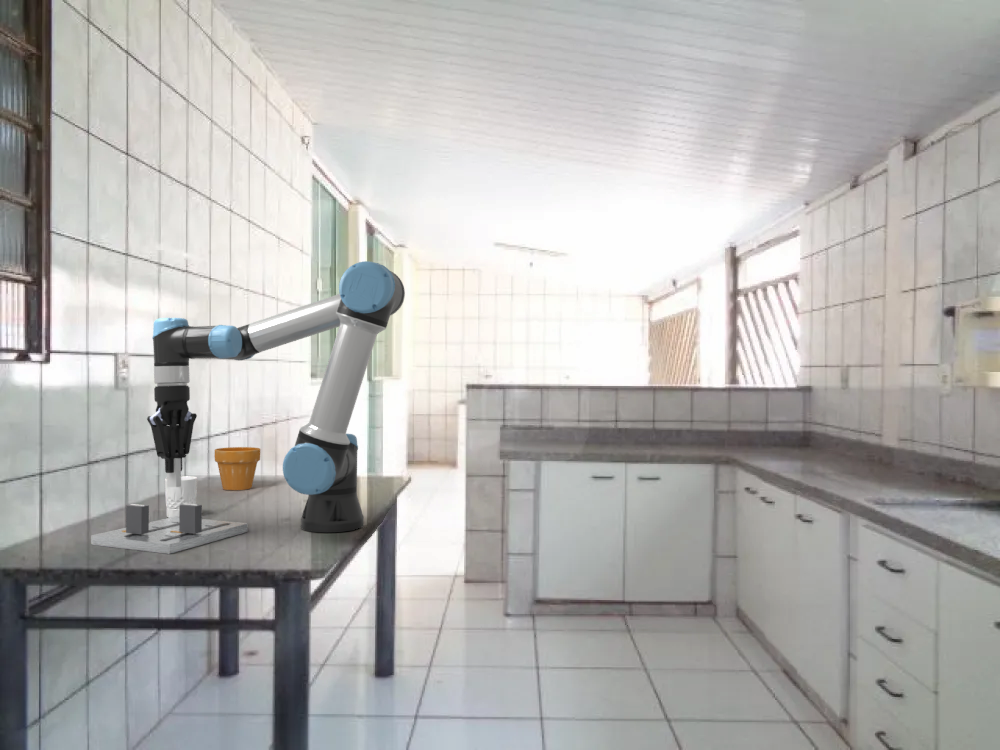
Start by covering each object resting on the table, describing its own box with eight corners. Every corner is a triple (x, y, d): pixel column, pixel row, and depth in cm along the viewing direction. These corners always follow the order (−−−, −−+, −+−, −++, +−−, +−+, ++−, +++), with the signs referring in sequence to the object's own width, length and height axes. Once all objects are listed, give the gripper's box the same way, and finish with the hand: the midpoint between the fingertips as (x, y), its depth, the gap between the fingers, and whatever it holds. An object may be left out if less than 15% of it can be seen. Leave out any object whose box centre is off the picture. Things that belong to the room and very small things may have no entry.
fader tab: (148, 532, 164) (148, 504, 164) (141, 534, 162) (141, 506, 162) (133, 531, 165) (133, 503, 165) (126, 532, 163) (126, 504, 163)
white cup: (184, 519, 190) (185, 480, 190) (157, 518, 192) (158, 479, 192) (203, 514, 198) (203, 476, 198) (176, 512, 200) (177, 475, 200)
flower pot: (226, 485, 251) (227, 446, 251) (267, 486, 249) (267, 447, 249) (205, 491, 237) (206, 450, 237) (248, 492, 235) (249, 451, 235)
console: (247, 531, 176) (247, 522, 176) (169, 554, 154) (169, 543, 154) (175, 524, 184) (175, 515, 184) (91, 544, 162) (91, 534, 162)
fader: (201, 532, 165) (201, 504, 165) (194, 533, 163) (195, 505, 163) (186, 530, 166) (186, 502, 166) (179, 532, 164) (179, 504, 164)
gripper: (180, 384, 180) (182, 482, 180) (136, 385, 168) (139, 490, 167) (205, 384, 177) (207, 483, 177) (162, 385, 165) (165, 491, 165)
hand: (174, 486), depth 172 cm, fingers closed
